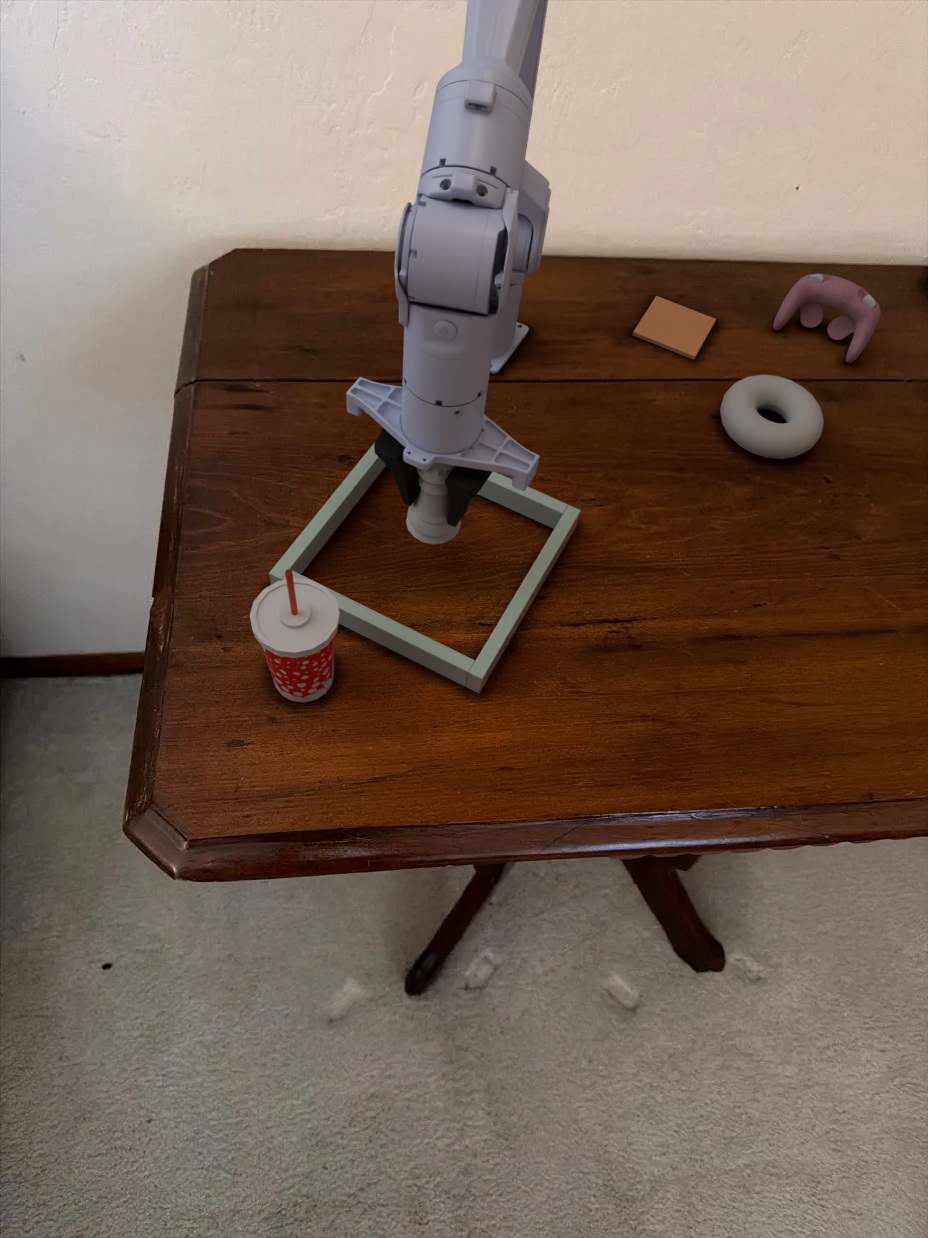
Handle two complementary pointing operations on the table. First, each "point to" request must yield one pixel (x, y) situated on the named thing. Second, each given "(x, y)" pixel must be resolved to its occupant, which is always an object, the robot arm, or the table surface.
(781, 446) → the donut
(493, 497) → the open square border
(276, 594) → the beverage cup
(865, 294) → the video game controller
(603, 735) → the table surface
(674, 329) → the mat
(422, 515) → the rook chess piece
